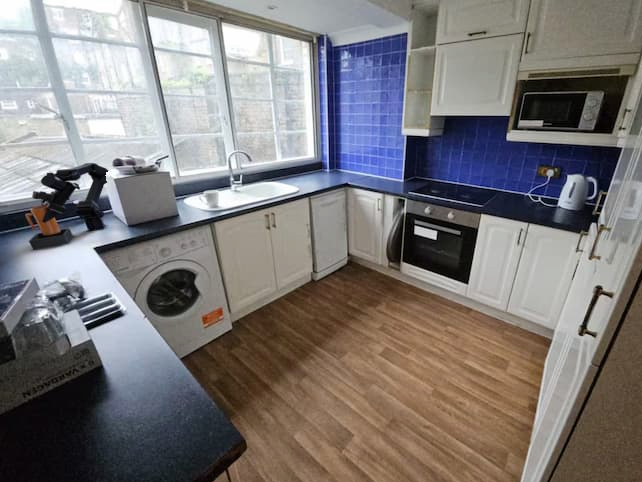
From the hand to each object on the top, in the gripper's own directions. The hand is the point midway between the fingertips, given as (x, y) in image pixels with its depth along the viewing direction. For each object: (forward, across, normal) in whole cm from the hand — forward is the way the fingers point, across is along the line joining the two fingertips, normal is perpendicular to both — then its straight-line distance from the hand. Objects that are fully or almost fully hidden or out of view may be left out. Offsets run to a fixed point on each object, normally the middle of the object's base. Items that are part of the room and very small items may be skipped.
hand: (41, 221), depth 139 cm
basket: (+8, 0, +9) cm, 12 cm away
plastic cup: (-8, -29, +24) cm, 39 cm away
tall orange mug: (+5, -1, +5) cm, 7 cm away
